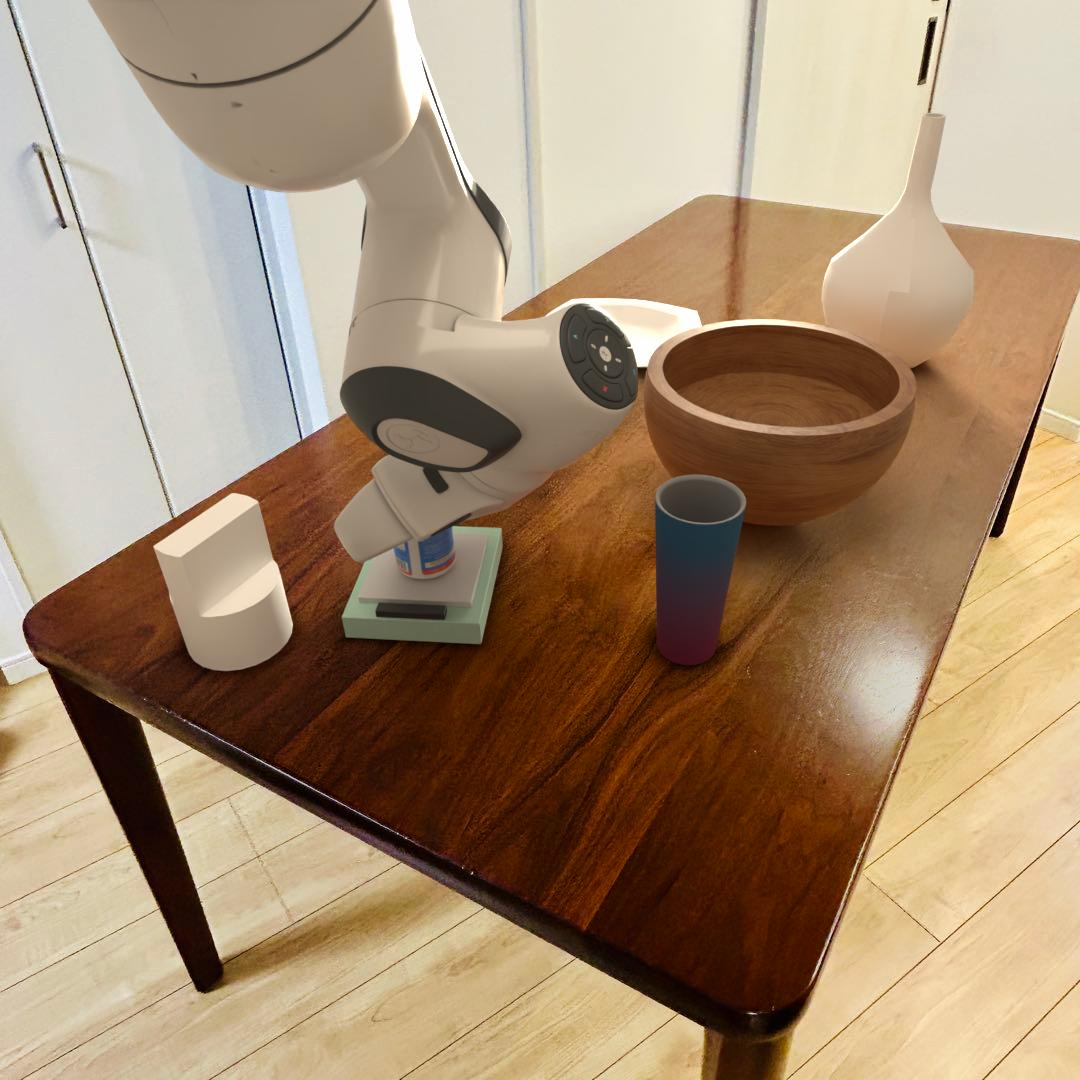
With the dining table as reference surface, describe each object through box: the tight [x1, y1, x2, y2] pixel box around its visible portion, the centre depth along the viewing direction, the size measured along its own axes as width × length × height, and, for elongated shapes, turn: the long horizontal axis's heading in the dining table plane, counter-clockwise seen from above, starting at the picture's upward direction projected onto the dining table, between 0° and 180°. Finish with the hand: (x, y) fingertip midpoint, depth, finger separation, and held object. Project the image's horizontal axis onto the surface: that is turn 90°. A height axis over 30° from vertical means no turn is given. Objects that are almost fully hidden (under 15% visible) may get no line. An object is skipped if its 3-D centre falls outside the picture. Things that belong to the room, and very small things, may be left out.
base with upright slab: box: [153, 492, 294, 672], centre depth 76 cm, size 9×9×12 cm
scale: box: [341, 525, 504, 645], centre depth 83 cm, size 14×12×3 cm
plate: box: [545, 297, 703, 369], centre depth 126 cm, size 23×23×2 cm
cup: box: [654, 475, 746, 666], centre depth 72 cm, size 7×7×15 cm
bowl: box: [643, 318, 917, 526], centre depth 89 cm, size 25×25×15 cm
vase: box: [820, 112, 975, 369], centre depth 113 cm, size 18×18×30 cm
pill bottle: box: [394, 527, 456, 579], centre depth 79 cm, size 6×5×10 cm
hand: (414, 511), depth 79 cm, fingers closed on pill bottle, 5 cm apart
